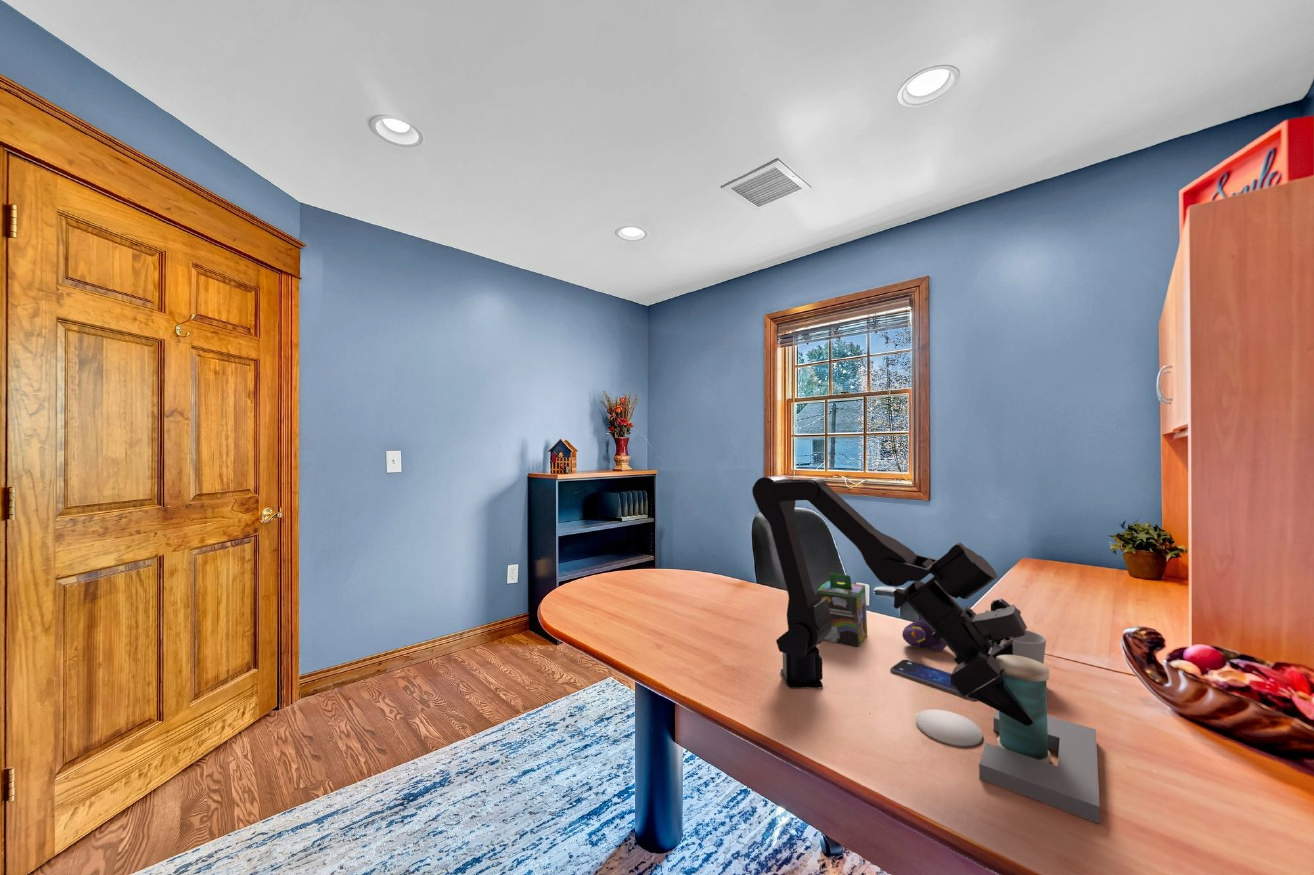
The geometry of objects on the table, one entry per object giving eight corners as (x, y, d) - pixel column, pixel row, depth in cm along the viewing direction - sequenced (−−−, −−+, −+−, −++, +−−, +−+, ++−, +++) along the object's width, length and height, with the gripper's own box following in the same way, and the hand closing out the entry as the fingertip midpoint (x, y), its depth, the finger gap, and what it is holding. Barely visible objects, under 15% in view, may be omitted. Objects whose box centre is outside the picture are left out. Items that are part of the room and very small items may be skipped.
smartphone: (903, 657, 101) (988, 684, 89) (903, 662, 100) (988, 689, 89) (887, 668, 96) (975, 697, 84) (888, 673, 96) (975, 703, 84)
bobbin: (1017, 768, 67) (1015, 674, 67) (987, 740, 74) (985, 654, 74) (1062, 768, 67) (1060, 674, 67) (1029, 740, 73) (1027, 654, 74)
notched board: (979, 778, 66) (979, 763, 66) (998, 713, 81) (998, 701, 81) (1099, 823, 58) (1099, 806, 58) (1096, 742, 73) (1095, 729, 73)
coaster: (935, 746, 72) (935, 743, 72) (905, 712, 81) (905, 709, 81) (996, 746, 72) (996, 742, 72) (959, 712, 81) (959, 709, 81)
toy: (969, 658, 101) (968, 627, 100) (913, 661, 101) (912, 630, 101) (939, 633, 112) (939, 605, 111) (889, 636, 112) (888, 608, 112)
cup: (1048, 694, 86) (1047, 646, 86) (980, 679, 92) (979, 634, 92) (1045, 677, 92) (1044, 632, 92) (982, 663, 98) (981, 621, 98)
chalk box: (867, 634, 114) (866, 571, 114) (859, 648, 106) (857, 581, 106) (827, 626, 119) (826, 566, 119) (816, 639, 111) (815, 575, 112)
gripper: (975, 602, 66) (1085, 712, 59) (994, 572, 80) (1085, 658, 73) (913, 645, 71) (1007, 751, 64) (941, 610, 85) (1020, 693, 78)
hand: (1033, 709), depth 70 cm, fingers open, 9 cm apart
